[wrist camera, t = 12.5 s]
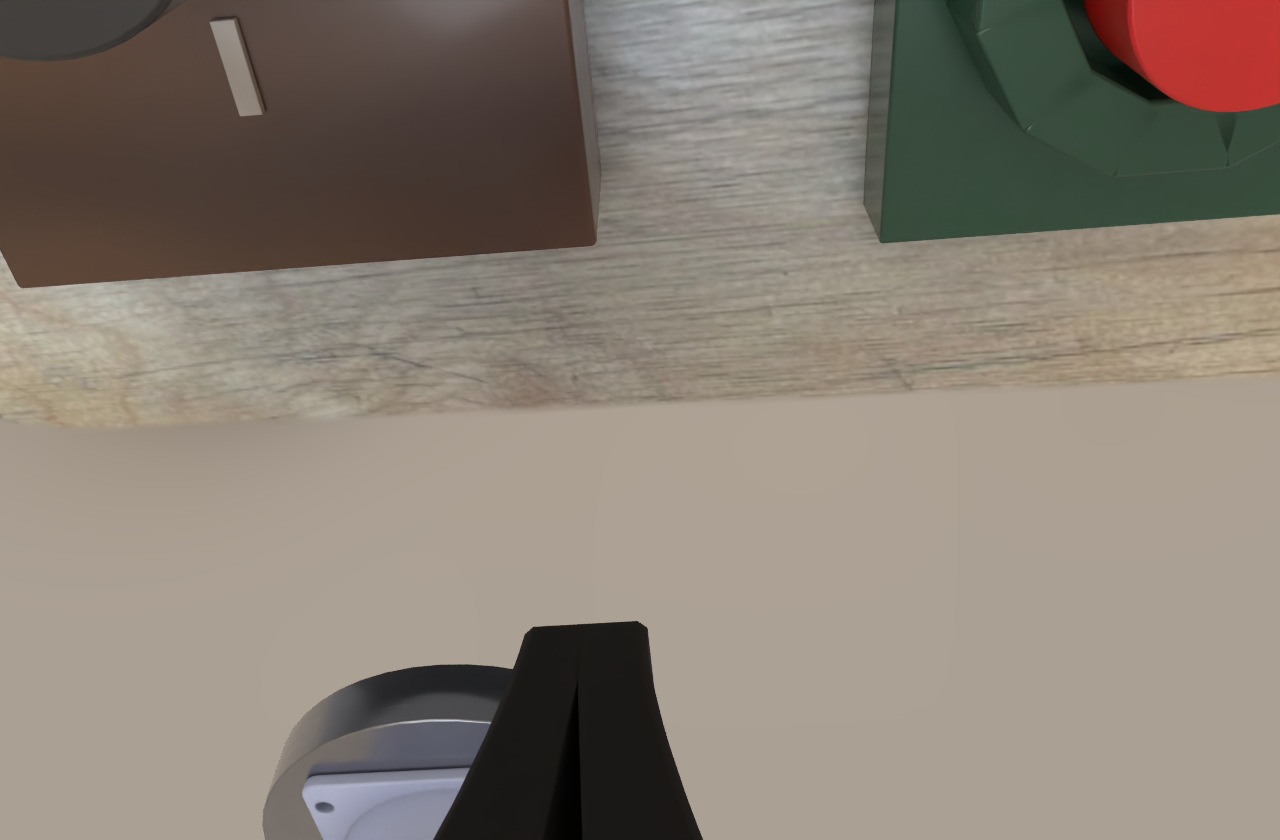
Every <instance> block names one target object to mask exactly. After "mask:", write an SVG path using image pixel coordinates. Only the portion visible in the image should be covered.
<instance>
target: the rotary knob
mask: <svg viewBox="0 0 1280 840" xmlns="http://www.w3.org/2000/svg"><path fill="white" fill-rule="evenodd" d="M185 1H186V0H0V57H2V58H9V59H16V60H23V61H62V60H70V59H79V58H83V57H87V56H90V55H94V54H98V53H101V52H105V51H107V50H109V49H111V48H113V47H116V46H118V45H120V44H122V43H124V42H126V41H128V40H130V39H131V38H132V37H134V36H135V35H137V34H138V33H140V32H141V31H143V30H144V29H146V28H147V27H149V26H150V25H151V24H153V23H154V22H156V21H157V20H159V19H160V18H162V17H163V16H165V15H166V14H167V13H169V12H170V11H172V10H173V9H175V8H176V7H178V6H179V5H180V4H182V3H183V2H185Z"/></svg>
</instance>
